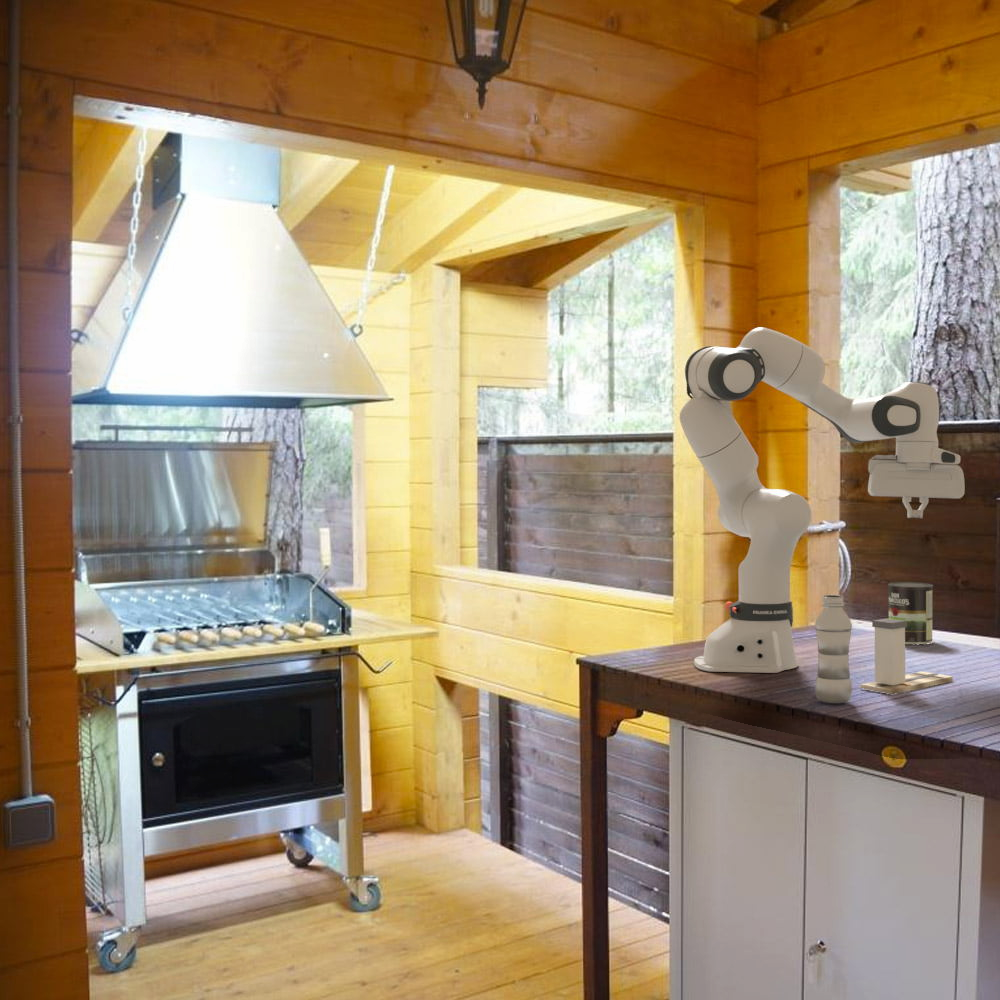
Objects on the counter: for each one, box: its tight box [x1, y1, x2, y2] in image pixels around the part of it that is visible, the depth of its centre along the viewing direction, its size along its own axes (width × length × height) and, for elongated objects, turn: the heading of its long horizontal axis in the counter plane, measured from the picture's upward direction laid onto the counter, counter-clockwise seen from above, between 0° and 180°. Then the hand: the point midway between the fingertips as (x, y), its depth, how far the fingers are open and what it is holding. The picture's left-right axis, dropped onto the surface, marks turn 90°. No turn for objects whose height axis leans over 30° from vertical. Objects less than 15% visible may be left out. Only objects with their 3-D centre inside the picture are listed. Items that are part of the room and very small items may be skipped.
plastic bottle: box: [814, 594, 853, 704], centre depth 207 cm, size 6×7×20 cm
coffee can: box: [887, 581, 934, 645], centre depth 272 cm, size 10×10×14 cm
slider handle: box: [871, 617, 907, 685], centre depth 218 cm, size 5×5×12 cm
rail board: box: [860, 671, 954, 695], centre depth 222 cm, size 20×7×1 cm, turn 125°
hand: (914, 518), depth 248 cm, fingers closed
